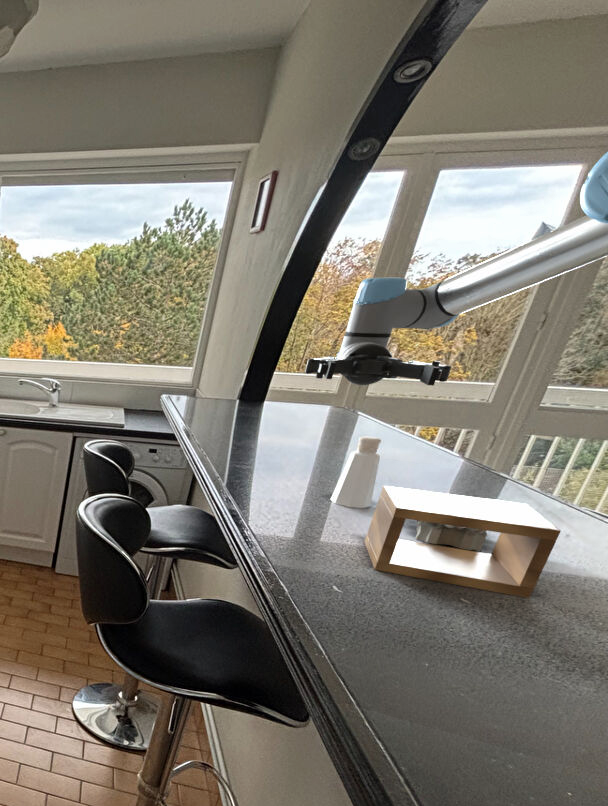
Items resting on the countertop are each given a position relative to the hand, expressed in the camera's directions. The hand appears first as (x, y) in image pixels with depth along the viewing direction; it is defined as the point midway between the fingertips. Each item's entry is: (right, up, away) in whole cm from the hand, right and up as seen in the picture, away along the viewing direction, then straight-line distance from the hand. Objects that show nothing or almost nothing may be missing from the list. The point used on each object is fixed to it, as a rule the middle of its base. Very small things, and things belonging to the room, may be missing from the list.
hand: (380, 373), depth 98 cm
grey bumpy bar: (-2, -28, -14) cm, 31 cm away
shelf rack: (-13, -31, -24) cm, 41 cm away
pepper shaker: (-5, -22, 0) cm, 22 cm away
